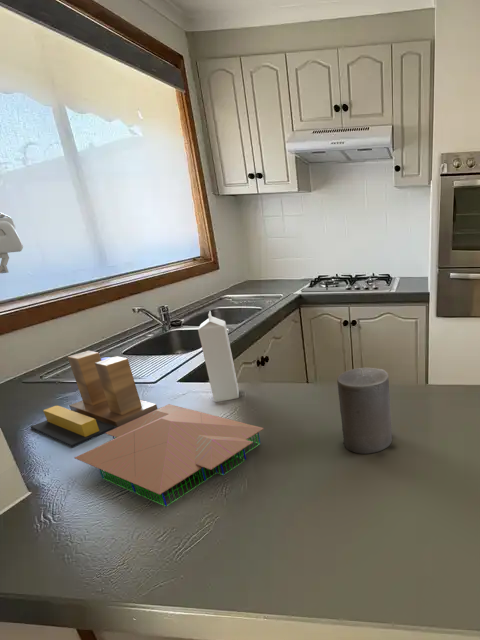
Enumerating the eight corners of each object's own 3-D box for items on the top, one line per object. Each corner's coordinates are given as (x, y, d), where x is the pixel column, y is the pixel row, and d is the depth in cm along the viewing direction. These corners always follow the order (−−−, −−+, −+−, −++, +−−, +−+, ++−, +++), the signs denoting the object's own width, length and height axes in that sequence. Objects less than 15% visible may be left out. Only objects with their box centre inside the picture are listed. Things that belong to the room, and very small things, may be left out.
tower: (157, 409, 104) (142, 356, 99) (117, 427, 96) (98, 370, 91) (110, 395, 115) (94, 346, 110) (70, 410, 108) (52, 358, 103)
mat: (115, 428, 96) (114, 426, 96) (72, 447, 89) (71, 445, 89) (72, 412, 106) (71, 410, 106) (31, 428, 99) (30, 426, 99)
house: (175, 516, 65) (162, 471, 63) (67, 467, 82) (53, 429, 79) (276, 445, 84) (270, 408, 81) (172, 416, 100) (163, 384, 97)
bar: (99, 430, 94) (95, 418, 93) (85, 437, 92) (80, 424, 91) (61, 416, 103) (57, 405, 102) (47, 421, 101) (42, 410, 100)
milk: (214, 402, 106) (194, 317, 98) (215, 393, 111) (196, 311, 103) (239, 398, 107) (221, 313, 99) (239, 389, 113) (222, 308, 105)
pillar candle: (333, 443, 83) (324, 372, 77) (367, 424, 89) (362, 357, 84) (369, 460, 76) (362, 383, 71) (403, 438, 83) (399, 366, 78)
